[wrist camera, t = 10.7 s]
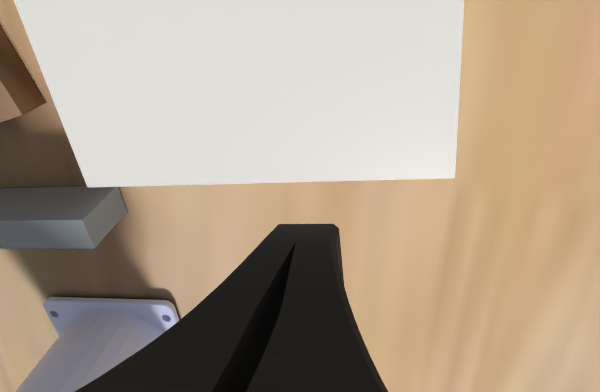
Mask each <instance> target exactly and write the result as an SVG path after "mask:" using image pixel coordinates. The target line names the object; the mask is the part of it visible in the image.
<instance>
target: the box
mask: <svg viewBox="0 0 600 392" xmlns="http://www.w3.org/2000/svg"><path fill="white" fill-rule="evenodd" d="M126 213H127V209H126V206H125V204H124V201H123V198H122V195H121V192H120V190H119V187H87V186H66V187H29V188H0V248H30V249H95V248H96V247H97V245H98V244H99V243H100V242H101V241H102V240H103V239H104V238H105V236H106V235H107V234H108V233H109V232H110V231H111V230H112V229H113V228H114V226H115V225H116V224H117V223H118V222H119V221H120V220H121V219H122V217H123V216H124V215H125V214H126Z"/></svg>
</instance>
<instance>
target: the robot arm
mask: <svg viewBox="0 0 600 392" xmlns="http://www.w3.org/2000/svg"><path fill="white" fill-rule="evenodd" d="M43 305H44V308H45V310H46V312H47V314H48V316H49V318H50V320H51V322H52V323H53V325H54V327H55V329H56V331H57V333H58V335H59V337H58V339H57V340H56V341H55V342H54V344H53V345H52V346H51V347H50V349H49V350H48V351H47V353H46V354H45V355H44V356H43V358H42V359H41V360H40V361H39V363H38V364H37V365H36V366H35V368H34V369H33V370H32V371H31V373H30V374H29V375H28V377H27V378H26V379H25V380H24V382H23V383H22V384H21V385H20V387H19V388H18V389H17V390H16V392H388V391H387V389H386V387H385V385H384V383H383V382H382V380H381V378H380V376H379V373H378V371H377V369H376V367H375V365H374V363H373V361H372V359H371V357H370V355H369V352H368V350H367V348H366V346H365V343H364V341H363V339H362V336H361V334H360V332H359V329H358V326H357V324H356V321H355V319H354V316H353V313H352V310H351V307H350V304H349V301H348V298H347V295H346V292H345V288H344V279H343V269H342V258H341V247H340V236H339V228H338V227H336V226H335V225H334V224H279V225H278V226H277V227H276V228H275V229H274V230H273V231H272V232H271V233H270V234H269V235H268V236H267V237H266V238H265V239H264V240H263V241H262V242H261V243H260V244H259V245H258V246H257V248H256V249H255V250H254V251H253V252H252V253H251V254H250V255H249V256H248V257H247V258H246V259H245V260H244V261H243V262H242V263H241V264H240V265H239V266H238V267H237V268H236V269H235V270H234V271H233V272H232V273H231V274H230V275H229V276H228V277H227V278H226V279H225V280H224V281H223V282H222V283H221V284H220V285H219V286H218V287H217V288H216V289H215V290H214V291H213V292H211V293H210V294H209V295H208V296H207V297H206V298H205V299H204V300H203V301H202V302H201V303H199V304H198V305H197V306H196V307H195V308H194V309H193V310H192V311H190V312H189V313H188V314H187V315H186V316H184V317H183V318H182V319H181V320H179V318H178V315H177V312H176V309H175V306H174V305H173V304H172V303H171V302H170V301H167V300H144V299H109V298H73V297H49V298H47V299H46V300H45V302H44V303H43ZM167 315H168V316H167Z"/></svg>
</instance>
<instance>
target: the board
mask: <svg viewBox="0 0 600 392" xmlns="http://www.w3.org/2000/svg"><path fill="white" fill-rule="evenodd" d="M14 2H15V5H16V7H17V10H18V12H19V15H20V17H21V20H22V23H23V25H24V28H25V30H26V33H27V35H28V38H29V40H30V43H31V45H32V48H33V50H34V53H35V56H36V58H37V61H38V63H39V66H40V68H41V71H42V73H43V76H44V78H45V81H46V83H47V86H48V89H49V91H50V94H51V96H52V99H53V101H54V104H55V106H56V109H57V111H58V114H59V116H60V119H61V122H62V124H63V127H64V129H65V132H66V134H67V137H68V139H69V142H70V144H71V147H72V149H73V152H74V155H75V157H76V160H77V162H78V165H79V167H80V170H81V172H82V175H83V177H84V180H85V182H86V185H87V187H126V186H165V185H204V184H243V183H282V182H321V181H360V180H399V179H438V178H455V166H456V147H457V128H458V109H459V89H460V70H461V51H462V32H463V13H464V0H14Z"/></svg>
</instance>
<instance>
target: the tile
mask: <svg viewBox="0 0 600 392" xmlns="http://www.w3.org/2000/svg"><path fill="white" fill-rule="evenodd" d="M44 103H46V101H45V99H44V97H43V96H42V94H41V92H40V91H39V89H38V87H37V85H36V84H35V82H34V80H33V79H32V77H31V75H30V74H29V72H28V70H27V69H26V67H25V65H24V64H23V62H22V60H21V59H20V57H19V55H18V54H17V52H16V50H15V49H14V47H13V45H12V44H11V42H10V40H9V39H8V37H7V35H6V34H5V32H4V30H3V29H2V27H1V25H0V122H3V121H6V120H9V119H12V118H15V117H19V116H22V115H24V114H26V113H28V112H29V111H31V110H33V109H35V108H37V107H39V106H40V105H42V104H44Z"/></svg>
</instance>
